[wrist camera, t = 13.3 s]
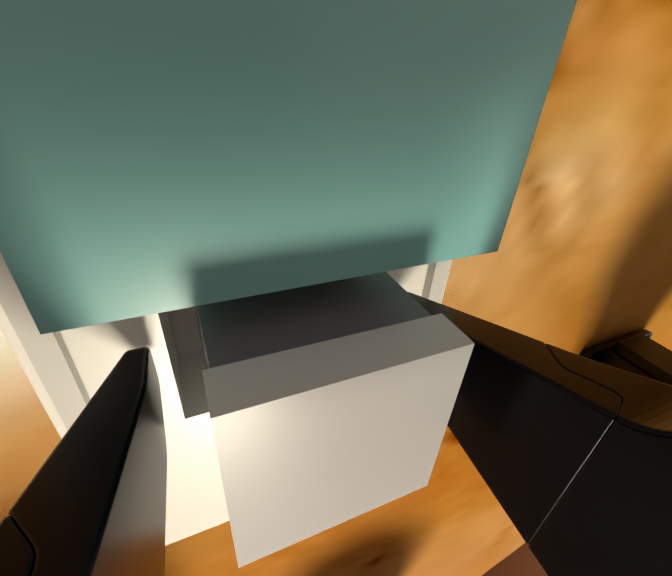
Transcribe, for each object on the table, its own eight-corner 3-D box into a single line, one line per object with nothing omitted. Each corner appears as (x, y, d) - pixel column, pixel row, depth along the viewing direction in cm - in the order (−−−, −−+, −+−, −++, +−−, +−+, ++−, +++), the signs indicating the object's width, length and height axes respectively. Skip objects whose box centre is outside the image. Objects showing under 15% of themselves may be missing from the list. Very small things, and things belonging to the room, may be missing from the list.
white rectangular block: (314, 309, 13) (426, 485, 8) (195, 332, 11) (238, 567, 6) (318, 199, 11) (474, 343, 6) (173, 212, 9) (211, 418, 4)
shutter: (420, 205, 9) (497, 251, 7) (71, 243, 6) (39, 335, 4) (480, -133, 6) (645, -219, 4) (-134, -319, 3) (-518, -814, 1)
